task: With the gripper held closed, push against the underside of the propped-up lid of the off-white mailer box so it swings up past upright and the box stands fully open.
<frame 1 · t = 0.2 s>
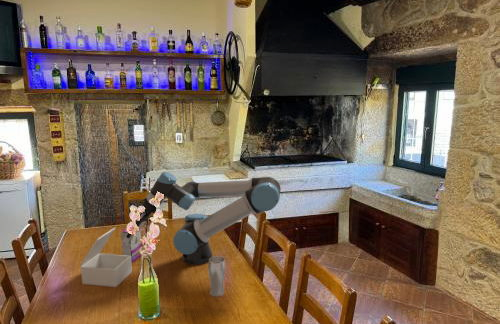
hand: (130, 236, 166), 16 cm above the table, tool tilted 35°, fingers open, 13 cm apart
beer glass: (217, 293, 146), on the table
mailer lid: (98, 246, 156), point 15 cm above the table, hinge at 55.0°
candy bar box: (133, 258, 177), on the table
mailer box: (108, 277, 158), on the table
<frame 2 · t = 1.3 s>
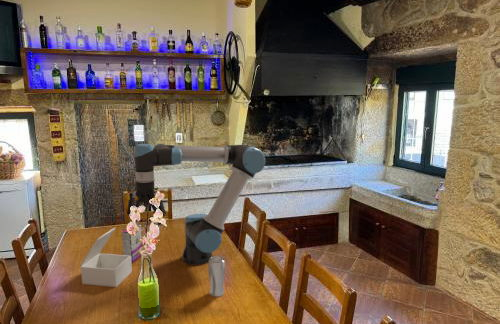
hand: (147, 231, 151), 24 cm above the table, tool pointing down, fingers open, 9 cm apart
nothing on the table moved.
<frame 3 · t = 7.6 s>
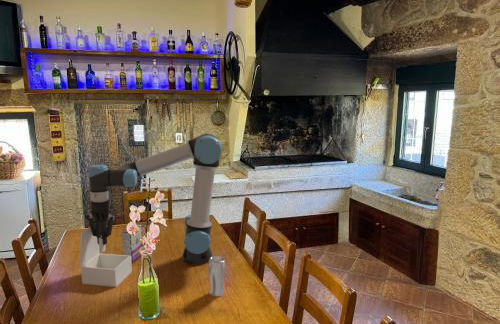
hand: (102, 250, 156), 13 cm above the table, tool pointing down, fingers closed
mailer lid: (90, 243, 156), point 16 cm above the table, hinge at 83.3°, touching hand
everything else where it was.
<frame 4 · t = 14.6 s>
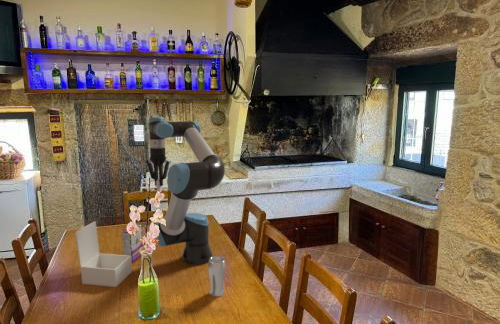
hand: (159, 192, 182), 32 cm above the table, tool pointing down, fingers closed
mailer lid: (87, 243, 157), point 16 cm above the table, hinge at 92.9°
everything else where it was.
at the end: mailer lid at +93° (first picture: +55°); candy bar box moved 0.3 cm from its start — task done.
